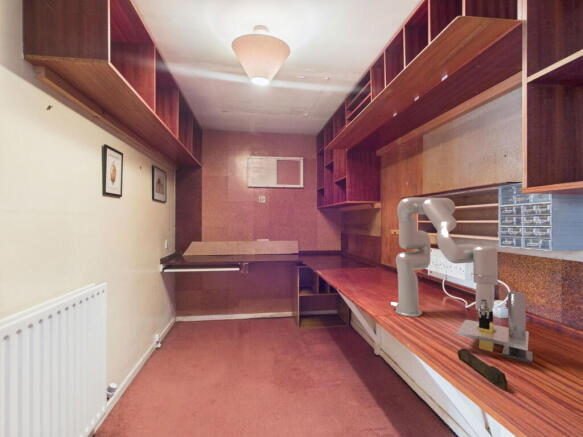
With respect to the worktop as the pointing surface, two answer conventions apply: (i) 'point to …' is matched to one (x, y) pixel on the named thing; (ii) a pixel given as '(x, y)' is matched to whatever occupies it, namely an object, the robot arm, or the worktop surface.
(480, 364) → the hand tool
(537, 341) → the worktop surface
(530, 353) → the gray plate with post
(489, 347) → the yellow block
